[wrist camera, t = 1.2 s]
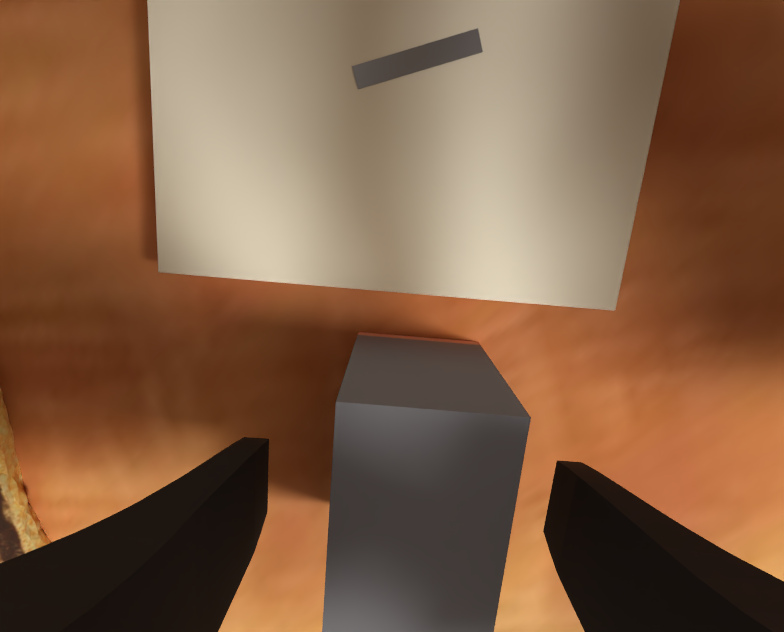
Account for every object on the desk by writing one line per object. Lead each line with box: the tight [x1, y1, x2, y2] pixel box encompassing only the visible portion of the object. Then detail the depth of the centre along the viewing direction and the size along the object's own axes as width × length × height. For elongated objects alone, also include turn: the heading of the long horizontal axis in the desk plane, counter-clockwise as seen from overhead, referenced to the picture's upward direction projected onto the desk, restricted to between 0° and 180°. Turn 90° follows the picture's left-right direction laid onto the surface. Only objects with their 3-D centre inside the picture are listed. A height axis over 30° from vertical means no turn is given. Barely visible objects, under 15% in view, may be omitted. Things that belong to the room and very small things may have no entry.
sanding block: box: [322, 332, 531, 632], centre depth 11 cm, size 4×6×5 cm, turn 175°
